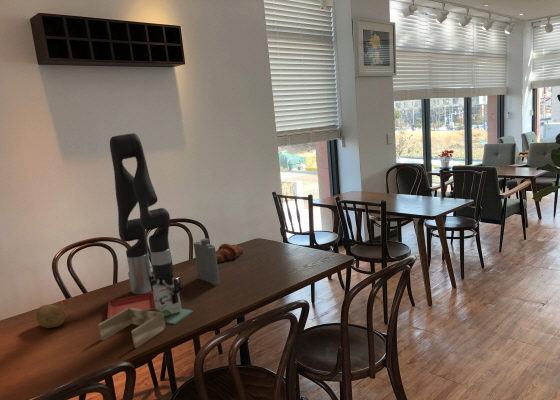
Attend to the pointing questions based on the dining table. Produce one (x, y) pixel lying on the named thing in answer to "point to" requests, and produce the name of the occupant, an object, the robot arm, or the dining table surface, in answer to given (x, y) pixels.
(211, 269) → the hip flask
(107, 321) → the beige u-shaped bracket
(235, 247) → the pastry
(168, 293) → the ink box
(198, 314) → the dining table surface
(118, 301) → the plant saucer
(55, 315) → the potato
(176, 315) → the mat
